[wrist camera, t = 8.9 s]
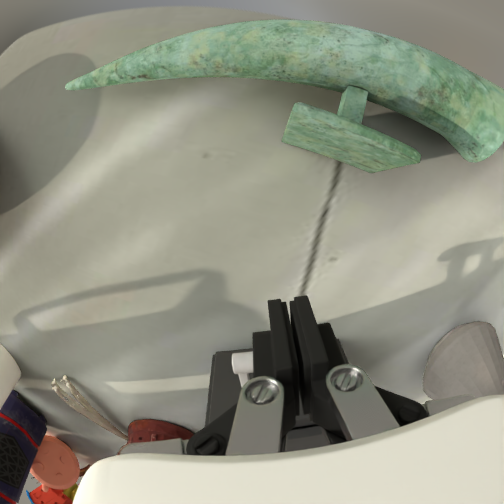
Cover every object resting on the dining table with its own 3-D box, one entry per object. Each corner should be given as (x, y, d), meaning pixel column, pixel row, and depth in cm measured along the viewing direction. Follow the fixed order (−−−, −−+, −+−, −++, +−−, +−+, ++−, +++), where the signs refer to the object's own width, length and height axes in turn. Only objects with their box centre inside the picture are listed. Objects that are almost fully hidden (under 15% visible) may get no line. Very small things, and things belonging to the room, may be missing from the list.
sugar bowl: (32, 423, 32) (34, 426, 37) (16, 478, 20) (20, 474, 26) (86, 452, 36) (81, 451, 41) (73, 507, 25) (69, 498, 30)
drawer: (206, 315, 21) (192, 392, 14) (337, 299, 21) (372, 368, 14) (238, 424, 28) (238, 481, 21) (327, 413, 27) (341, 468, 20)
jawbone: (51, 379, 27) (46, 389, 25) (68, 373, 26) (62, 384, 24) (135, 443, 34) (133, 452, 32) (155, 440, 33) (154, 451, 31)
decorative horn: (32, 83, 10) (508, 217, 11) (105, -37, 8) (512, 76, 9) (86, 107, 17) (448, 210, 18) (135, 5, 15) (463, 97, 16)
